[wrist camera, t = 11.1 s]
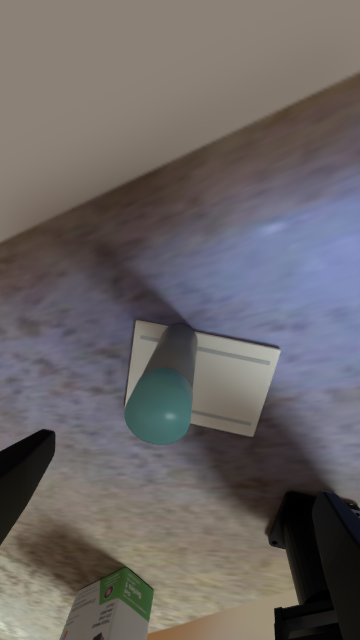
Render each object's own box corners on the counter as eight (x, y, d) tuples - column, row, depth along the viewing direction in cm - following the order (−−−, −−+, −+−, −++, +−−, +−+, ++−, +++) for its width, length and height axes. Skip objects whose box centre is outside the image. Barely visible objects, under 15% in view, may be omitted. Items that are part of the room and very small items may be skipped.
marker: (194, 362, 20) (184, 450, 12) (157, 354, 20) (121, 436, 12) (201, 327, 19) (196, 395, 11) (163, 319, 20) (128, 381, 11)
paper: (252, 434, 22) (253, 437, 22) (125, 406, 23) (124, 409, 22) (279, 348, 20) (281, 350, 19) (137, 319, 20) (135, 321, 20)
